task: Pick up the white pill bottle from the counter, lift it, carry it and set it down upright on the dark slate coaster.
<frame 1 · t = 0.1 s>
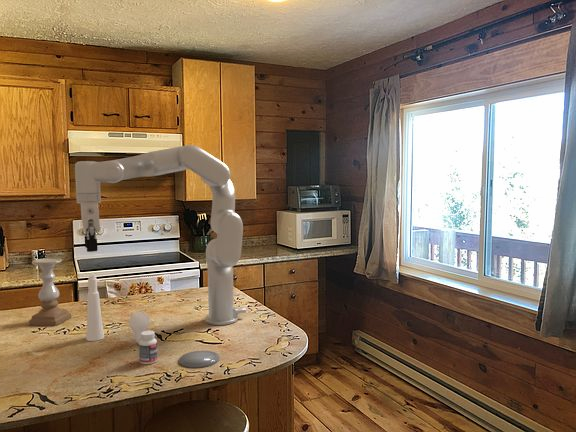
hand: (91, 249, 163), 31 cm above the kitchen island, fingers open, 9 cm apart
light bulb: (140, 344, 161), on the kitchen island
cosmetic bottle: (95, 338, 167), on the kitchen island
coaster: (199, 359, 147), on the kitchen island
pill bottle: (148, 361, 146), on the kitchen island
candle holder: (50, 321, 186), on the kitchen island
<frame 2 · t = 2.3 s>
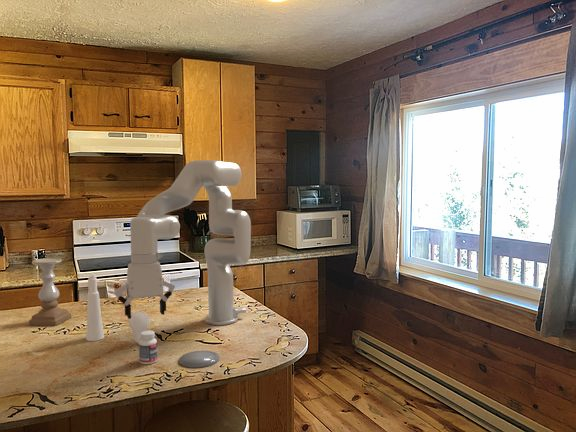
hand: (145, 315, 144), 14 cm above the kitchen island, fingers open, 9 cm apart
nothing on the kitchen island moved.
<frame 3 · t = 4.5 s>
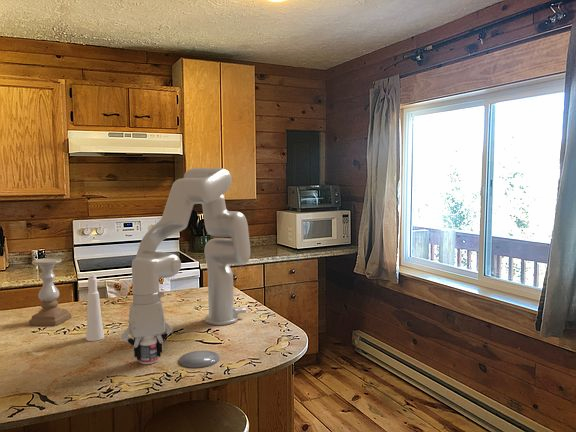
hand: (148, 356, 146), 2 cm above the kitchen island, fingers closed on pill bottle, 5 cm apart
pill bottle: (148, 361, 146), on the kitchen island, touching gripper
everything else where it was.
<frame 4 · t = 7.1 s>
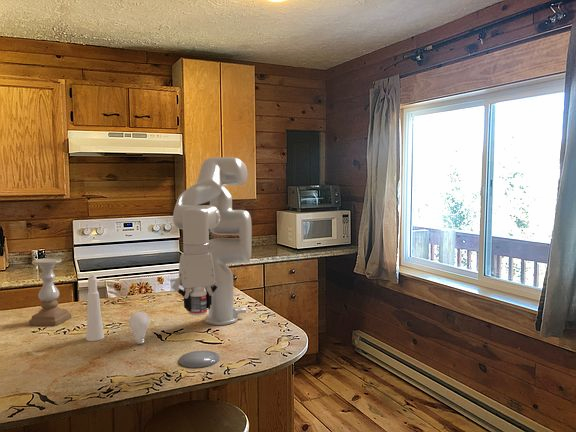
hand: (197, 308, 145), 16 cm above the kitchen island, fingers closed on pill bottle, 5 cm apart
pill bottle: (198, 313, 145), point 14 cm above the kitchen island, touching gripper
everything else where it was.
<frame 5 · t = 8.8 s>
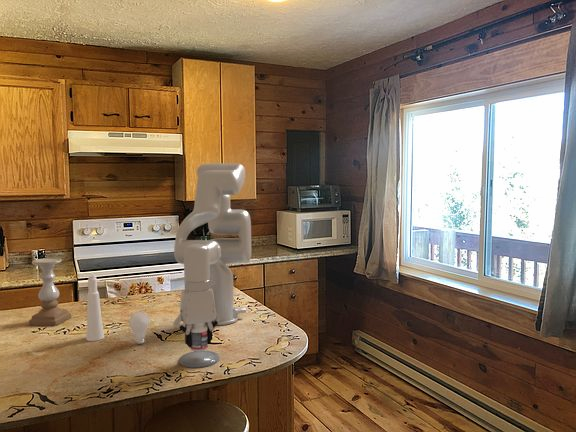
hand: (198, 343, 146), 5 cm above the kitchen island, fingers closed on pill bottle, 5 cm apart
pill bottle: (199, 349, 146), point 3 cm above the kitchen island, touching gripper
everything else where it was.
when the fingers open (4 cm above the kitchen island, at t = 10.0 s): pill bottle drops 1 cm, resting on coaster.
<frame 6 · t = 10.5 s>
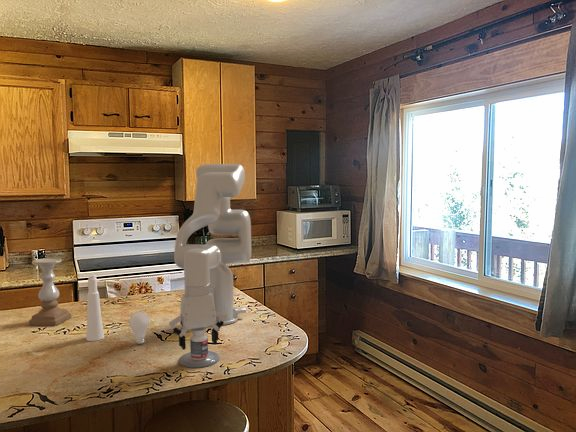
hand: (199, 345, 146), 5 cm above the kitchen island, fingers open, 9 cm apart
pill bottle: (199, 358, 147), point 1 cm above the kitchen island, touching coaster
everything else where it was.
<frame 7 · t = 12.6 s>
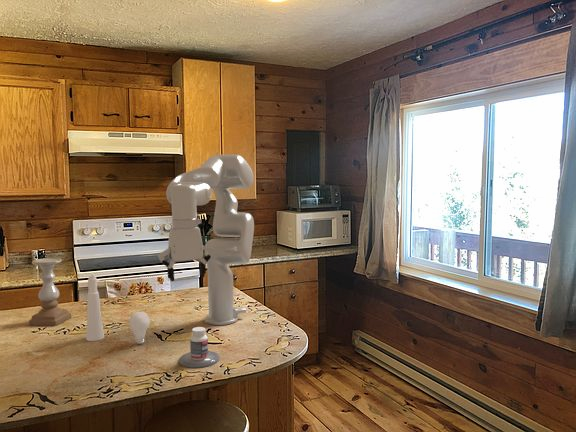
hand: (187, 278, 152), 24 cm above the kitchen island, fingers open, 9 cm apart
nothing on the kitchen island moved.
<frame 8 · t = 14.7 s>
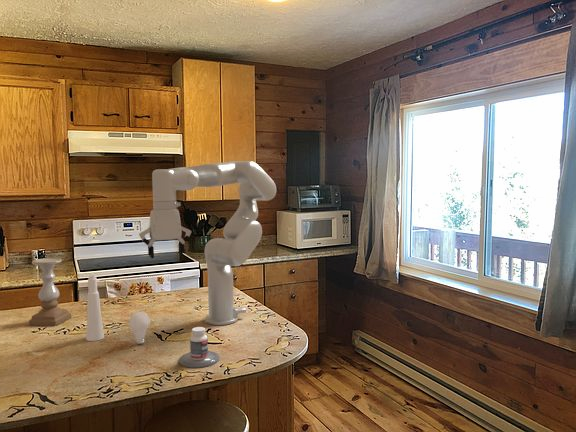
hand: (166, 256, 164), 28 cm above the kitchen island, fingers open, 9 cm apart
nothing on the kitchen island moved.
at the end: pill bottle 0.1 cm from the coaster (horizontally); pill bottle tilted 0°; the gripper is holding nothing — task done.
